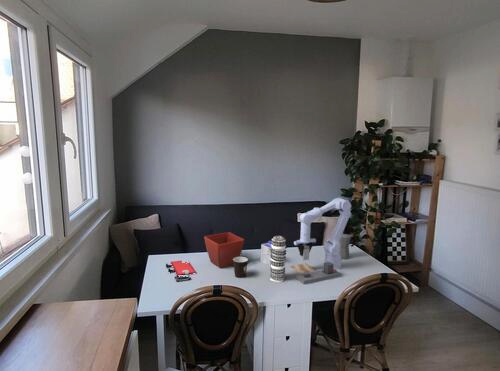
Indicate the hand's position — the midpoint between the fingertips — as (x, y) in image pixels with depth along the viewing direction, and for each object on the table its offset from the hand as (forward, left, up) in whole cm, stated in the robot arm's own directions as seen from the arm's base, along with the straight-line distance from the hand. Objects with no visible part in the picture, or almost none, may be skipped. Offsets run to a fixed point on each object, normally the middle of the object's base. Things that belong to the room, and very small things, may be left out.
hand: (304, 254), depth 207 cm
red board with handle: (+68, -30, -11) cm, 75 cm away
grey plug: (0, 0, -2) cm, 2 cm away
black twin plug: (-8, +13, -10) cm, 18 cm away
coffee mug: (+37, -9, -10) cm, 39 cm away
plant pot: (+40, -31, -10) cm, 52 cm away
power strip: (-1, +13, -10) cm, 16 cm away
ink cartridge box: (+14, -19, -10) cm, 26 cm away
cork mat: (-1, -2, -10) cm, 10 cm away
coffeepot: (-39, -8, -10) cm, 41 cm away
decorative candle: (+21, +4, -10) cm, 24 cm away
